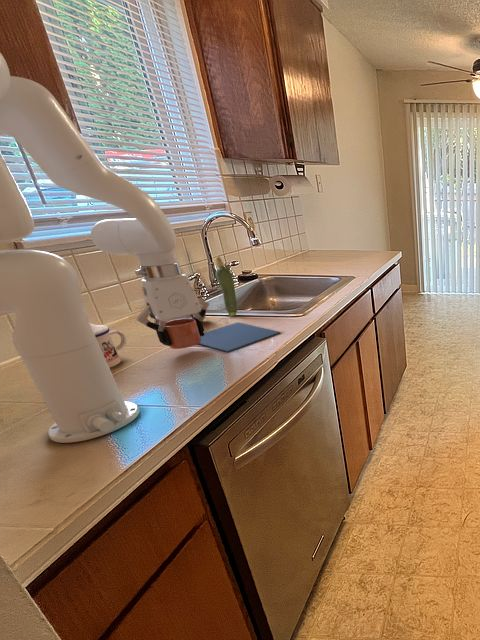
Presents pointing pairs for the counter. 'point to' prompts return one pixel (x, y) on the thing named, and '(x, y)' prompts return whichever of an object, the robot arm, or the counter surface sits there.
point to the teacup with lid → (108, 343)
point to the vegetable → (226, 287)
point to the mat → (235, 336)
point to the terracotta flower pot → (183, 333)
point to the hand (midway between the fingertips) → (184, 339)
